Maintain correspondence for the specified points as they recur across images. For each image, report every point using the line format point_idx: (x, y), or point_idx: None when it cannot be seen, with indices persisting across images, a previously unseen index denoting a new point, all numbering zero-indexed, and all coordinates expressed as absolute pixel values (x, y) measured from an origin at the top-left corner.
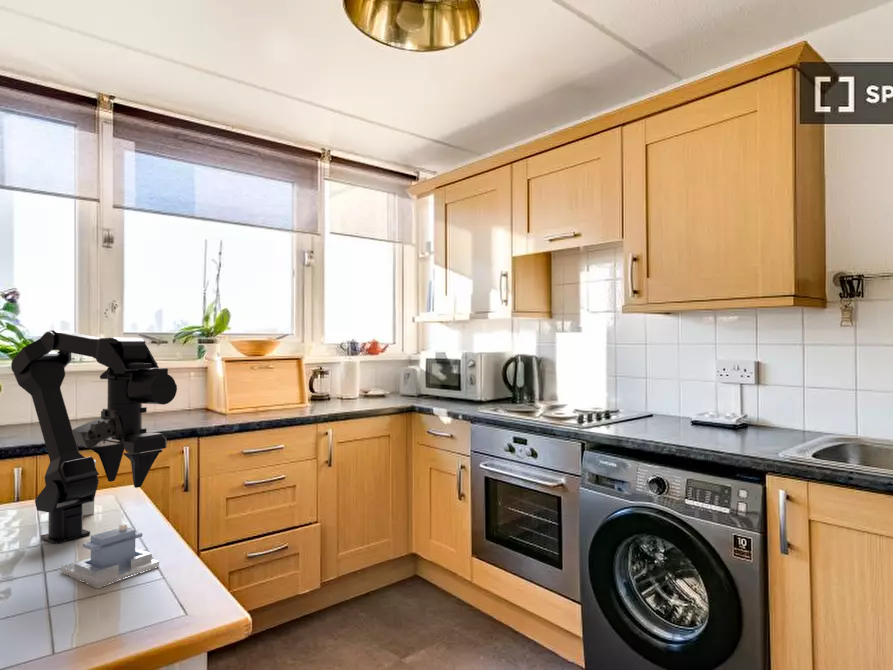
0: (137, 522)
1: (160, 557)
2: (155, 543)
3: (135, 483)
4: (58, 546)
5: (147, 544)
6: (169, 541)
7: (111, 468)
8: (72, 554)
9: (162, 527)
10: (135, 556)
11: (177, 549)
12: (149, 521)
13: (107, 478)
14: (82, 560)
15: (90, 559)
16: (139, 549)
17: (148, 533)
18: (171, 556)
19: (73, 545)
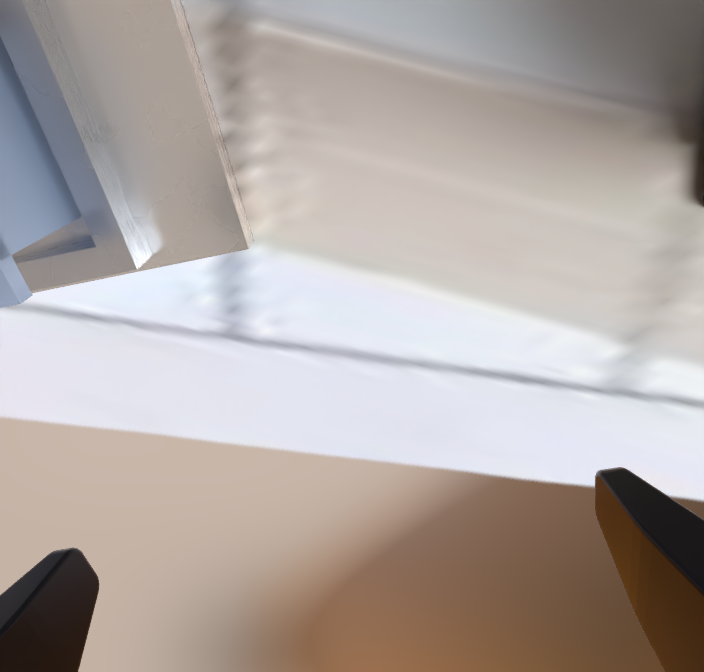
0: (673, 422)
1: (87, 342)
2: (293, 383)
3: (8, 589)
4: (670, 10)
5: (305, 357)
6: (276, 426)
7: (696, 639)
8: (441, 41)
9: (493, 465)
10: (36, 254)
11: (148, 415)
12: (634, 458)
13: (644, 484)
14: (174, 29)
15: (13, 36)
16: (45, 285)
17: (460, 405)
18: (72, 374)
19: (603, 88)
